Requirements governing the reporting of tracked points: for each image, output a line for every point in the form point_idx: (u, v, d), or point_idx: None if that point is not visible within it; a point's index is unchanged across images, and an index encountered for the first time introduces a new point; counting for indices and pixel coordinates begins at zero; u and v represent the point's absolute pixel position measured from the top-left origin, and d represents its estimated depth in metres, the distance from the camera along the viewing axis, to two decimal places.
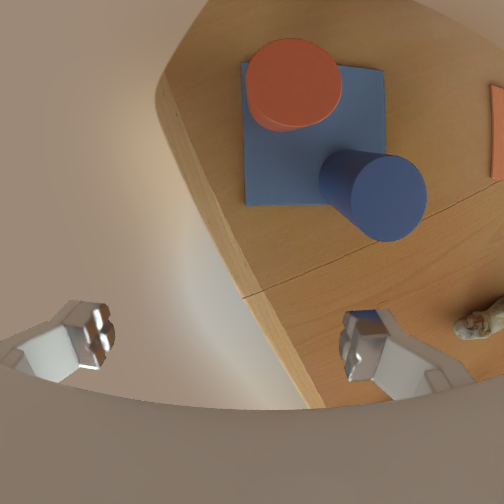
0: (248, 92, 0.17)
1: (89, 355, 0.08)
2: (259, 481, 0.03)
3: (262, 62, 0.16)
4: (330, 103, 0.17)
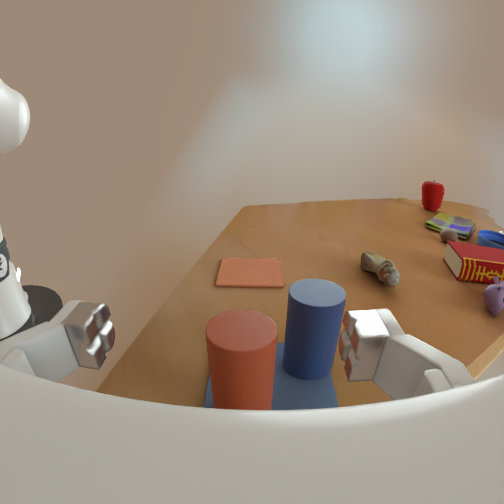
0: (249, 350, 0.22)
1: (89, 355, 0.08)
2: (259, 481, 0.03)
3: (224, 342, 0.23)
4: (258, 314, 0.27)
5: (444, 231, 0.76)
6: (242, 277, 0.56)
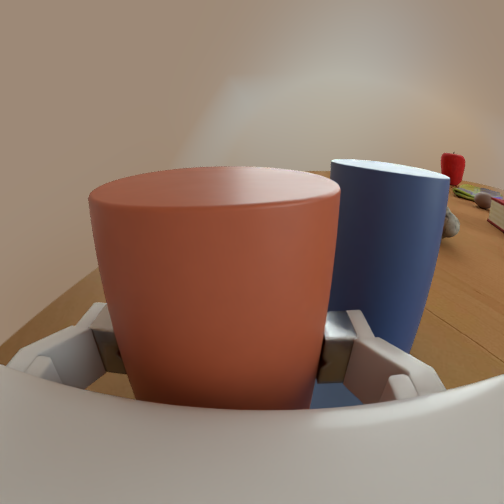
0: (237, 205, 0.05)
1: (118, 360, 0.08)
2: (259, 481, 0.03)
3: (136, 194, 0.05)
4: (268, 169, 0.09)
5: (479, 194, 0.59)
6: None
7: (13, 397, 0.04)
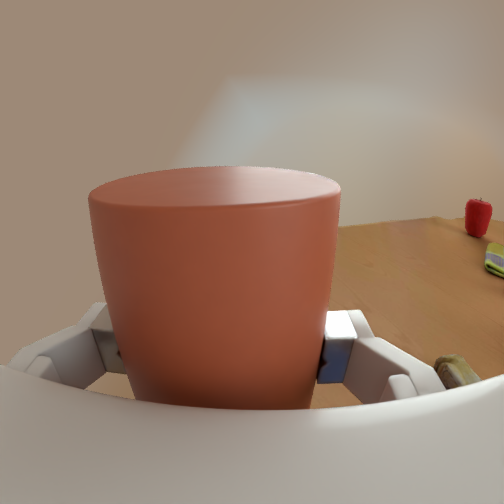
0: (237, 204, 0.05)
1: (118, 360, 0.08)
2: (259, 481, 0.03)
3: (136, 195, 0.05)
4: (268, 168, 0.09)
5: None
6: None
7: (13, 397, 0.04)
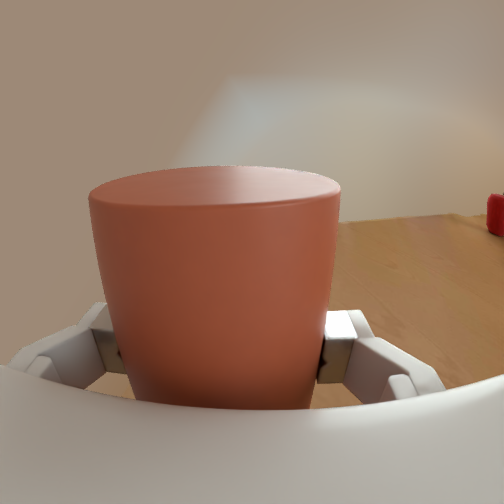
0: (237, 204, 0.05)
1: (118, 360, 0.08)
2: (259, 481, 0.03)
3: (136, 194, 0.05)
4: (268, 168, 0.09)
5: None
6: None
7: (13, 397, 0.04)
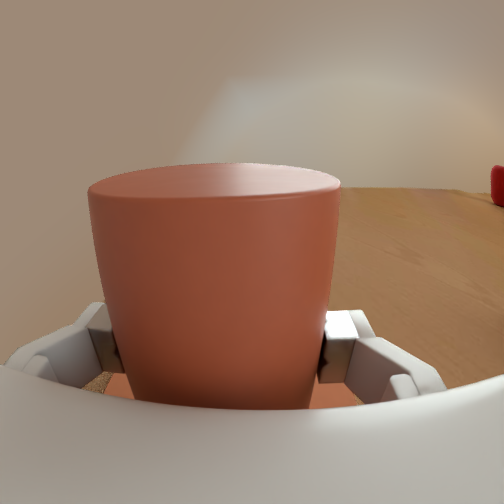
0: (238, 196, 0.05)
1: (114, 359, 0.08)
2: (259, 481, 0.03)
3: (136, 188, 0.05)
4: (267, 165, 0.09)
5: None
6: None
7: (13, 397, 0.04)
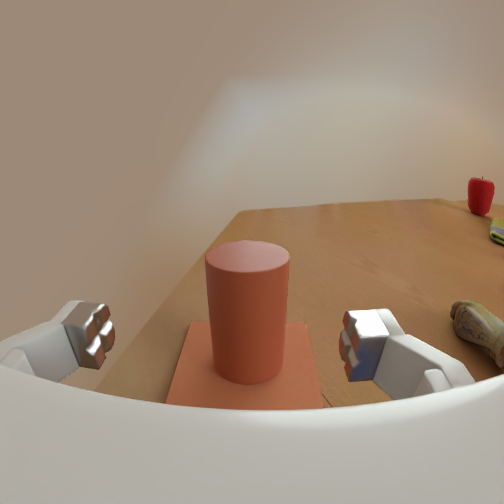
0: (258, 271, 0.19)
1: (89, 355, 0.08)
2: (259, 481, 0.03)
3: (227, 265, 0.20)
4: (266, 243, 0.24)
5: None
6: (227, 385, 0.23)
7: (13, 397, 0.04)
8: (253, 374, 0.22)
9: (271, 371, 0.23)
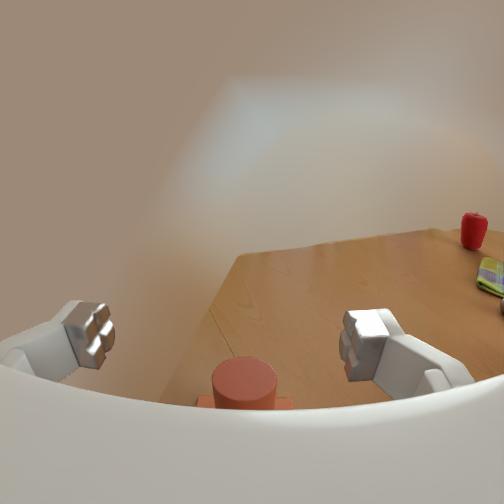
0: (252, 399, 0.24)
1: (89, 355, 0.08)
2: (259, 481, 0.03)
3: (229, 391, 0.25)
4: (259, 362, 0.28)
5: None
6: None
7: (13, 397, 0.04)
8: None
9: None
